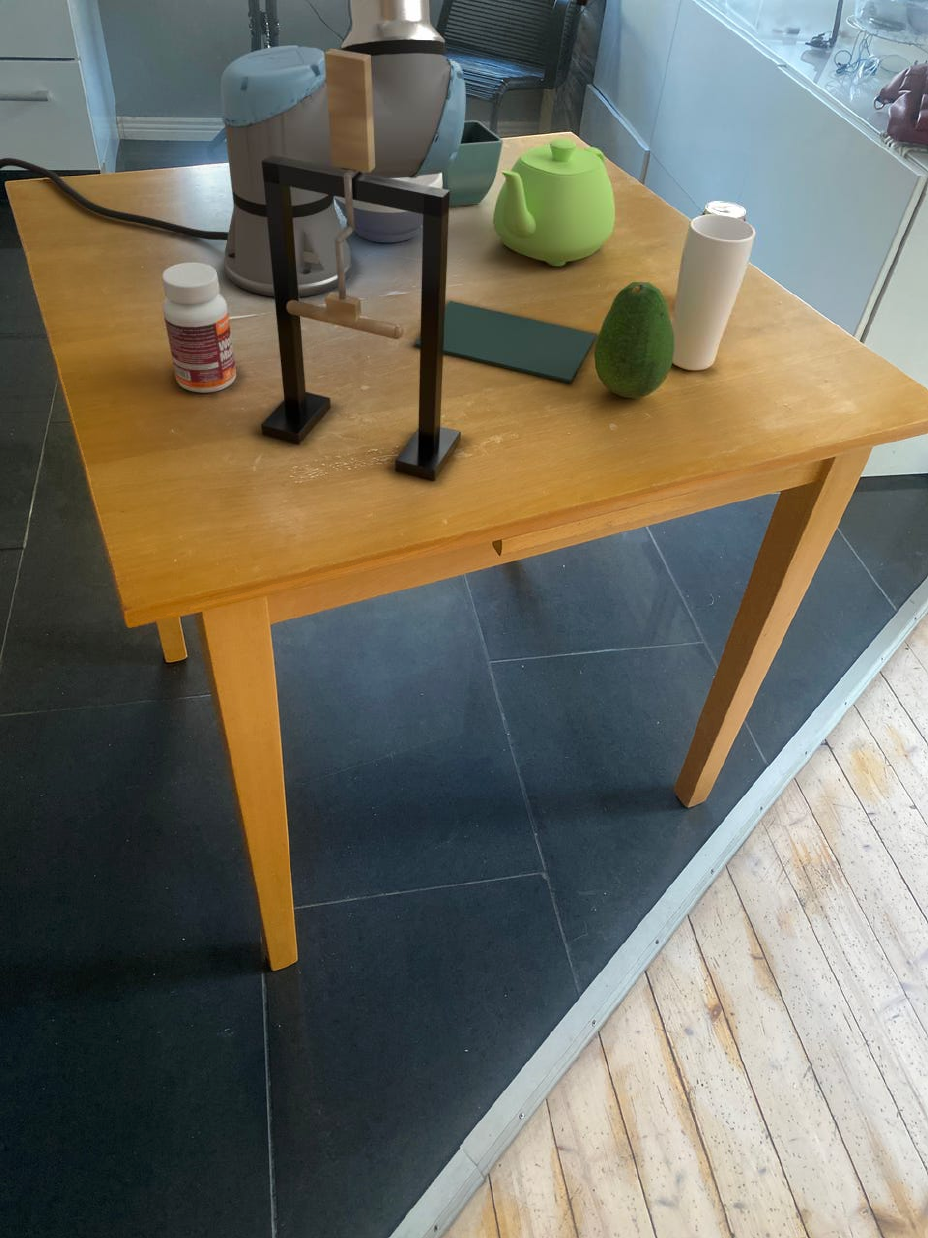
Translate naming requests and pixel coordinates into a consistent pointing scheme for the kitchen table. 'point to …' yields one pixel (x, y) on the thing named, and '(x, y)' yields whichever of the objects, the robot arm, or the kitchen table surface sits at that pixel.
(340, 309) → the hanger
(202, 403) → the kitchen table surface
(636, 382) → the fruit
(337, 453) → the kitchen table surface
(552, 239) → the teapot
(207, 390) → the pill bottle
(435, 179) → the bowl
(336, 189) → the rack
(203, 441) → the kitchen table surface
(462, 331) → the mat
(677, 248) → the kitchen table surface
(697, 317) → the drinking glass
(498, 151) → the flower pot
